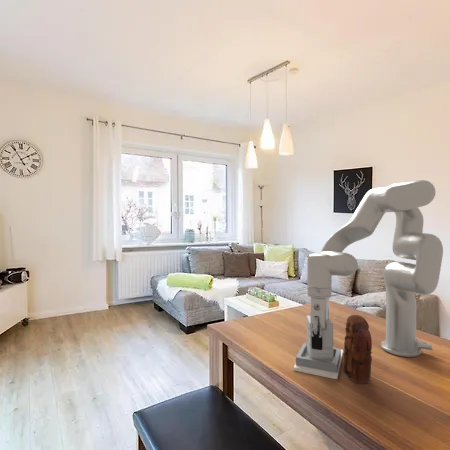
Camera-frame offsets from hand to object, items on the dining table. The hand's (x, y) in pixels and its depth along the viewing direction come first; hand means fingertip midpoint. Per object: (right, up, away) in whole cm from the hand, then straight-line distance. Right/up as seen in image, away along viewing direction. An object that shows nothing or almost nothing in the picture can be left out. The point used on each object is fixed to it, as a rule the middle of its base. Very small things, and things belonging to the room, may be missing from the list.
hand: (319, 343), depth 102 cm
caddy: (+1, -7, +2) cm, 7 cm away
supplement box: (0, -5, 0) cm, 5 cm away
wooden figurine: (+9, -7, -7) cm, 14 cm away
